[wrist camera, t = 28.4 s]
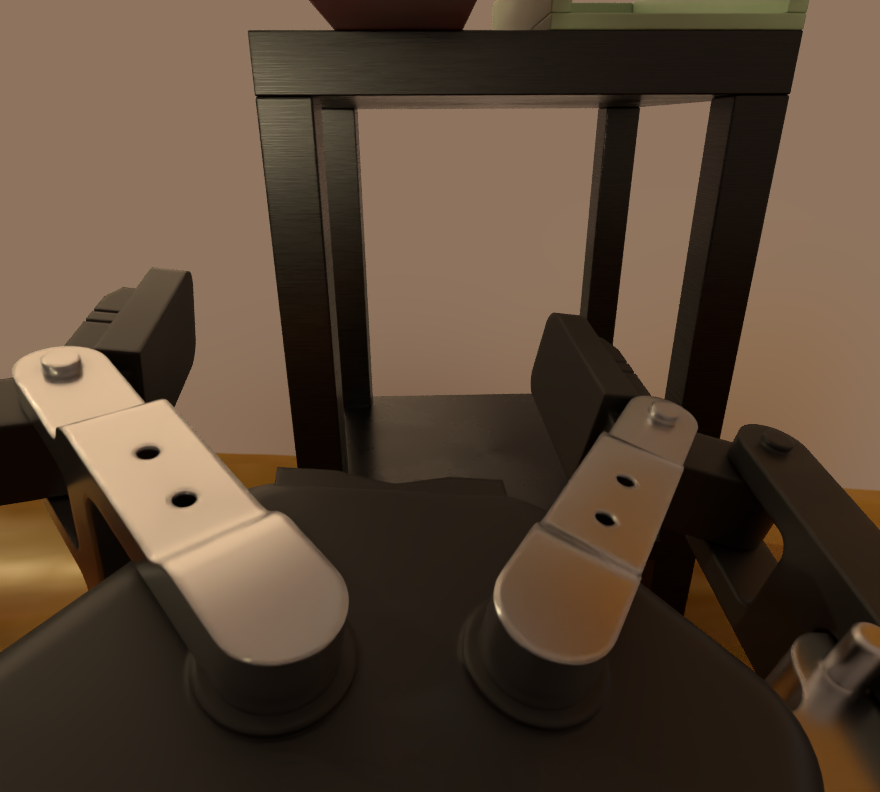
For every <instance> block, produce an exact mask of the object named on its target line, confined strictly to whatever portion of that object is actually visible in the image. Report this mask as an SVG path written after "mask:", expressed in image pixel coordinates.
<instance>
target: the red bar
mask: <svg viewBox="0 0 880 792" xmlns="http://www.w3.org/2000/svg"><path fill="white" fill-rule="evenodd" d="M309 1H310V2H311V3H312V4H313V5H314V7H315V8H316V9H317V10H318V11H319V12H320V14H321V15H322V16H323V17H324V18H325V19H326V21H327V22H328V23H329V24H330V25H331V26H332V27H333V29H334V30H463V28H464V26H465V24H466V22H467V20H468V18H469V16H470V13H471V11H472V9H473V7H474V5H475V3H476V1H477V0H309Z"/></svg>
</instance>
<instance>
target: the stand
mask: <svg viewBox="0 0 880 792" xmlns="http://www.w3.org/2000/svg"><path fill="white" fill-rule="evenodd" d="M802 33H803V31H802V30H249V31H248V38H249V46H250V55H251V64H252V73H253V82H254V91H255V96H258V97H256V106H257V115H258V124H259V132H260V141H261V150H262V159H263V168H264V177H265V185H266V194H267V203H268V212H269V221H270V230H271V238H272V247H273V256H274V265H275V274H276V282H277V291H278V299H279V309H280V317H281V326H282V335H283V344H284V352H285V362H286V370H287V379H288V388H289V397H290V405H291V415H292V423H293V432H294V441H295V450H296V459H297V467H298V468H304V469H322V470H337V471H341V472H345V473H350V474H354V475H358V476H363V477H367V478H371V479H376V480H380V481H384V482H389V483H406V482H413V481H421V480H429V479H436V478H444V477H465V478H483V479H501V480H503V482H504V486H505V489H506V492H507V496H511V497H514V498H518V499H521V500H524V501H526V502H529V503H531V504H533V505H536V506H538V507H540V508H542V509H544V510H545V511H547V512H548V511H549V509H550V508H551V506H552V505H553V503H554V502H555V501H556V499H557V498H558V496H559V495H560V493H561V492H562V490H563V489H564V487H565V486H566V484H567V483H568V481H569V480H568V478H567V475H566V473H565V471H564V468H563V466H562V464H561V461H560V459H559V457H558V454H557V452H556V450H555V447H554V445H553V443H552V440H551V438H550V436H549V433H548V431H547V429H546V426H545V424H544V422H543V419H542V417H541V415H540V412H539V410H538V408H537V405H536V403H535V401H534V398H533V396H532V394H491V395H490V394H487V395H435V396H381V397H373V394H372V374H371V355H370V338H369V337H370V336H369V318H368V299H367V280H366V262H365V243H364V224H363V206H362V188H361V169H360V150H359V131H358V113H357V109H460V108H461V109H473V108H474V109H475V108H476V109H479V108H482V109H483V108H599V109H598V120H597V131H596V143H595V153H594V165H593V175H592V187H591V197H590V208H589V219H588V230H587V242H586V252H585V264H584V275H583V286H582V297H581V308H580V316H584V317H585V318H586V319H587V321H588V322H589V324H590V325H591V326H592V328H593V329H594V331H595V332H596V334H597V335H598V337H599V338H603V339H604V340H606V341H607V342H609V343H610V344H611V345H613V337H614V328H615V319H616V311H617V303H618V293H619V285H620V276H621V267H622V259H623V250H624V242H625V232H626V224H627V216H628V207H629V198H630V190H631V181H632V172H633V164H634V155H635V146H636V137H637V129H638V120H639V112H640V108H639V107H645V106H658V105H669V104H680V103H692V102H704V101H711V107H710V113H709V121H708V126H707V133H706V139H705V145H704V152H703V158H702V165H701V171H700V177H699V183H698V190H697V196H696V203H695V209H694V215H693V222H692V228H691V235H690V241H689V247H688V253H687V261H686V266H685V272H684V279H683V285H682V292H681V298H680V304H679V311H678V317H677V324H676V330H675V336H674V343H673V349H672V355H671V362H670V368H669V374H668V381H667V387H666V393H665V400H668V401H671V402H673V403H675V404H677V405H679V406H681V407H682V408H684V409H685V410H687V411H688V412H689V413H690V414H691V415H692V416H693V417H694V418H695V420H696V421H697V424H698V430H697V433H700V434H703V435H707V436H711V437H714V438H718V439H720V435H721V430H722V425H723V420H724V415H725V410H726V405H727V400H728V395H729V391H730V386H731V381H732V376H733V371H734V366H735V361H736V355H737V351H738V346H739V341H740V336H741V331H742V326H743V321H744V317H745V311H746V306H747V302H748V297H749V291H750V287H751V282H752V277H753V272H754V267H755V262H756V257H757V252H758V247H759V243H760V238H761V233H762V228H763V223H764V218H765V213H766V207H767V203H768V198H769V193H770V188H771V183H772V179H773V173H774V168H775V164H776V159H777V154H778V149H779V143H780V139H781V134H782V129H783V124H784V119H785V114H786V110H787V105H788V99H789V96H788V94H790V92H791V87H792V82H793V77H794V72H795V67H796V62H797V58H798V53H799V48H800V43H801V38H802ZM321 108H322V109H321ZM695 559H696V557H695V555H694V553H693V551H692V550H691V548H690V546H689V544H688V542H687V539H686V536H685V534H682V533H678V532H675V531H671V530H668V529H664V528H661V527H660V530H659V532H658V534H657V537H656V539H655V542H654V544H653V547H652V549H651V552H650V554H649V557H648V559H647V562H646V564H645V567H644V569H643V572H642V575H641V576H642V578H641V581H640V583H642V584H643V585H644V586H646V587H647V588H648V589H649V590H651V591H652V592H653V593H655V594H656V595H657V596H658V597H660V598H661V599H662V600H663V601H665V602H666V603H667V604H669V605H670V606H671V607H672V608H674V609H675V610H676V611H677V612H679V613H680V614H681V615H683V616H684V612H685V607H686V602H687V598H688V593H689V588H690V583H691V578H692V573H693V568H694V563H695Z"/></svg>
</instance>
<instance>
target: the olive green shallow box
mask: <svg viewBox="0 0 880 792" xmlns="http://www.w3.org/2000/svg"><path fill="white" fill-rule="evenodd" d="M808 4H809V0H638V1H636V2H634V3H572V0H496V1H495V2H494V4H493V6H492V7H493V8H492V30H802V29H803V28H804V23H805V18H806V14H805V13H806V12H807V8H808Z"/></svg>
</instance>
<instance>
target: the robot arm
mask: <svg viewBox="0 0 880 792" xmlns="http://www.w3.org/2000/svg"><path fill="white" fill-rule="evenodd" d="M195 342H196V338H195V317H194V297H193V282H192V276H191V273H190V272H189V271H180V270H172V269H171V270H170V269H163V268H154V267H152V268H151V269H150V270H149V271H148V273H147V274H146V275H145V277H144V278H143V280H142V281H141V282H140V284H139V285H138V287H137V288H127V287H123V288H121V289H118V290H116V291H114V292H112V293H110V294H108V295H106V296H104V297H103V299H102V300H101V301H100V302H99V303H98V305H97V306H96V307H95V308H94V311H92V312H91V313H90V314H89V316H88V317H87V318H86V321H84V322H83V323H82V324H81V326H80V327H79V328H78V329H77V331H76V332H75V333H74V334H73V336H72V337H71V338H70V339H69V340H68V342H67V343H66V344H65V345H64V346H62V347H53V348H47V349H43V350H39V351H36V352H33V353H31V354H28V355H26V356H25V357H23V358H21V359H20V360H19V361H18V362H17V363H16V364H15V365H14V367H13V369H12V376H13V377H12V378H8V379H0V506H1V505H7V504H13V503H20V502H26V501H32V500H38V499H42V500H43V503H44V506H45V508H46V510H47V511H48V513H49V515H50V517H51V518H52V520H53V522H54V524H55V525H56V527H57V529H58V531H59V532H60V534H61V536H62V538H63V540H64V541H65V543H66V545H67V547H68V548H69V550H70V552H71V554H72V555H73V557H74V559H75V561H76V563H77V564H78V566H79V568H80V570H81V572H82V574H83V577H84V579H85V582H86V585H87V588H88V592H86V593H85V594H83V595H82V596H80V597H79V598H78V599H76V600H75V601H73V602H72V603H70V604H69V605H68V606H66V607H65V608H63V609H62V610H60V611H59V612H58V613H56V614H55V615H53V616H52V617H50V618H49V619H48V620H46V621H45V622H43V623H42V624H40V625H39V626H37V627H36V628H35V629H33V630H32V631H30V632H29V633H27V634H26V635H25V636H23V637H22V638H20V639H19V640H17V641H16V642H15V643H13V644H12V645H10V646H9V647H7V648H6V649H5V650H3V651H2V652H0V792H880V530H879V529H878V528H877V527H876V526H875V524H874V523H873V522H872V521H871V520H870V519H869V518H868V517H867V515H866V514H865V513H864V512H863V511H862V510H861V509H860V508H859V506H858V505H857V504H856V503H855V502H854V501H853V500H852V499H851V497H850V496H849V495H848V494H847V493H846V492H845V491H844V490H843V488H842V487H841V486H840V485H839V484H838V483H837V482H836V481H835V480H834V478H833V477H832V476H831V475H830V474H829V473H828V472H827V471H826V470H825V468H824V467H823V466H822V465H821V464H820V463H819V462H818V461H817V459H816V458H815V457H814V456H813V455H812V454H811V453H810V451H809V450H808V449H807V448H806V447H805V446H804V445H803V444H801V443H800V442H799V441H798V440H796V439H794V438H793V437H791V436H790V435H788V434H786V433H784V432H782V431H779V430H777V429H774V428H771V427H768V426H764V425H758V424H748V425H744V426H742V427H741V428H740V430H739V431H738V433H737V435H736V437H735V439H734V441H733V442H729V441H726V440H721V439H718V438H714V437H711V436H707V435H703V434H700V433H697V430H698V424H697V421H696V420H695V418H694V417H693V416H692V415H691V414H690V413H689V412H688V411H687V410H685V409H684V408H682V407H681V406H679V405H677V404H675V403H673V402H671V401H668V400H665V399H662V398H658V397H653V396H651V395H650V393H649V392H648V390H647V389H646V388H645V386H643V384H642V382H641V381H640V379H639V378H638V377H637V375H636V374H634V371H633V370H632V368H631V367H630V365H629V364H626V363H627V362H626V360H625V358H624V357H623V356H622V355H621V353H620V351H619V350H618V349H616V348H615V347H614V346H613V345H611V344H610V343H609V342H607V341H606V340H604V339H603V338H599V337H598V335H597V334H596V332H595V331H594V329H593V328H592V326H591V325H590V324H589V322H588V321H587V319H586V318H585V317H584V316H580V315H571V314H561V313H552V314H551V315H550V316H549V318H548V320H547V322H546V325H545V329H544V333H543V336H542V339H541V342H540V346H539V349H538V353H537V356H536V359H535V363H534V367H533V370H532V375H531V392H532V396H533V398H534V401H535V403H536V405H537V408H538V410H539V412H540V415H541V417H542V419H543V422H544V424H545V426H546V429H547V431H548V433H549V436H550V438H551V440H552V443H553V445H554V447H555V450H556V452H557V454H558V457H559V459H560V461H561V464H562V466H563V468H564V471H565V473H566V475H567V478H568V480H569V481H568V483H567V484H566V486H565V487H564V489H563V490H562V492H561V493H560V495H559V496H558V498H557V499H556V501H555V502H554V503H553V505H552V506H551V508H550V509H549V511H548V512H547V511H545V510H544V509H542V508H540V507H538V506H536V505H533V504H531V503H529V502H526V501H524V500H521V499H518V498H514V497H511V496H507V492H506V489H505V486H504V482H503V480H501V479H483V478H465V477H444V478H436V479H429V480H421V481H413V482H406V483H389V482H384V481H380V480H376V479H371V478H367V477H363V476H358V475H354V474H350V473H345V472H341V471H337V470H322V469H304V468H286V467H277V473H276V479H275V483H274V484H267V485H262V486H257V487H253V488H249V489H247V488H246V487H245V486H244V485H243V484H242V483H241V482H240V481H239V480H238V478H237V477H236V476H235V475H234V474H233V473H232V472H231V471H230V469H229V468H228V467H227V466H226V465H225V464H224V463H223V462H222V461H221V459H220V458H219V457H218V456H217V455H216V454H215V453H214V452H213V451H212V449H211V448H210V447H209V446H208V445H207V444H206V443H205V442H204V440H203V439H202V438H201V437H200V436H199V435H198V434H197V433H196V431H194V429H193V428H192V427H191V426H190V425H189V424H188V422H186V420H185V419H184V418H183V417H182V416H181V415H180V414H179V412H178V411H177V410H176V409H175V408H174V407H175V405H176V402H177V400H178V398H179V395H180V393H181V391H182V388H183V386H184V384H185V381H186V379H187V377H188V374H189V372H190V370H191V367H192V365H193V361H194V354H195V344H196V343H195ZM773 524H775V525H776V526H777V528H778V529H779V531H780V533H781V535H782V538H783V543H784V550H783V555H782V558H781V560H780V561H779V563H778V562H777V561H776V559H775V558H774V556H773V555H772V553H771V552H770V550H769V549H768V547H767V546H766V544H765V543H764V541H763V539H764V538H765V536H766V535H767V533H768V531H769V530H770V528H771V527H772V525H773ZM660 527H661V528H664V529H668V530H671V531H675V532H678V533H682V534H685V536H686V539H687V542H688V544H689V546H690V548H691V550H692V551H693V553H694V555H695V557H696V559H697V561H698V563H699V565H700V567H701V569H702V571H703V572H704V574H705V576H706V578H707V580H708V582H709V584H710V586H711V588H712V590H713V592H714V594H715V595H716V597H717V599H718V601H719V603H720V605H721V607H722V609H723V611H724V613H725V615H726V616H727V618H728V620H729V622H730V624H731V626H732V628H733V630H734V632H735V634H736V636H737V638H738V639H739V641H740V643H741V645H742V647H743V649H744V651H745V653H746V655H747V657H748V659H749V661H750V662H751V664H752V666H753V668H754V670H755V672H756V673H755V672H754V671H753V670H751V669H750V668H749V667H748V666H746V665H745V664H744V663H742V662H741V661H740V660H739V659H737V658H736V657H735V656H734V655H732V654H731V653H730V652H728V651H727V650H726V649H725V648H723V647H722V646H721V645H720V644H718V643H717V642H716V641H714V640H713V639H712V638H711V637H709V636H708V635H707V634H705V633H704V632H703V631H702V630H700V629H699V628H698V627H697V626H695V625H694V624H693V623H691V622H690V621H689V620H688V619H686V618H685V617H684V616H683V615H681V614H680V613H679V612H677V611H676V610H675V609H674V608H672V607H671V606H670V605H669V604H667V603H666V602H665V601H663V600H662V599H661V598H660V597H658V596H657V595H656V594H655V593H653V592H652V591H651V590H649V589H648V588H647V587H646V586H644V585H643V584H642V583H640V581H641V578H642V576H641V575H642V572H643V569H644V567H645V564H646V562H647V559H648V557H649V554H650V552H651V549H652V547H653V544H654V542H655V539H656V537H657V534H658V532H659V530H660Z"/></svg>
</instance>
